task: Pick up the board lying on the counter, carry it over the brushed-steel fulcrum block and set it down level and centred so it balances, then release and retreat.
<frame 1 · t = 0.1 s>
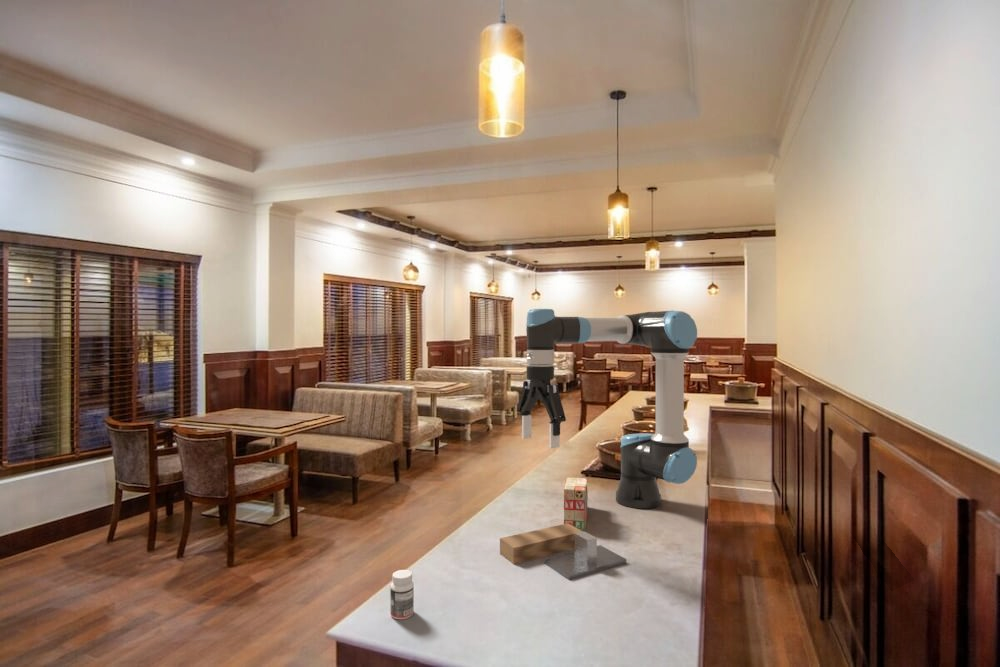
hand: (539, 443, 145), 28 cm above the counter, fingers open, 13 cm apart
stack of blocks: (576, 518, 165), on the counter
board: (542, 551, 141), on the counter
fulcrum: (585, 563, 133), on the counter
pill bottle: (402, 614, 109), on the counter
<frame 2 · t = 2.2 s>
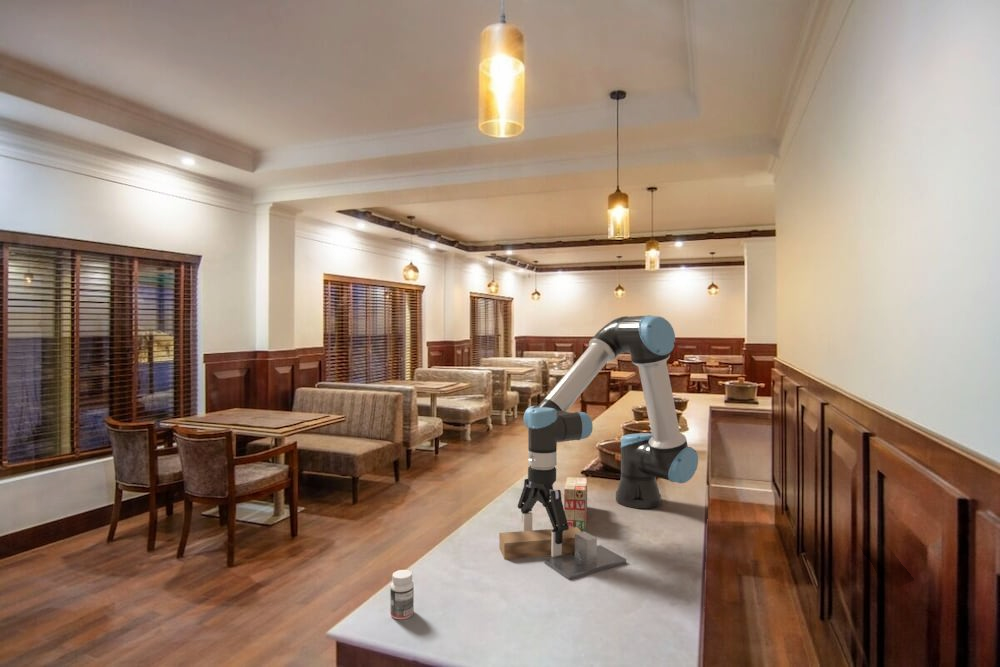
hand: (541, 546, 141), 1 cm above the counter, fingers open, 13 cm apart
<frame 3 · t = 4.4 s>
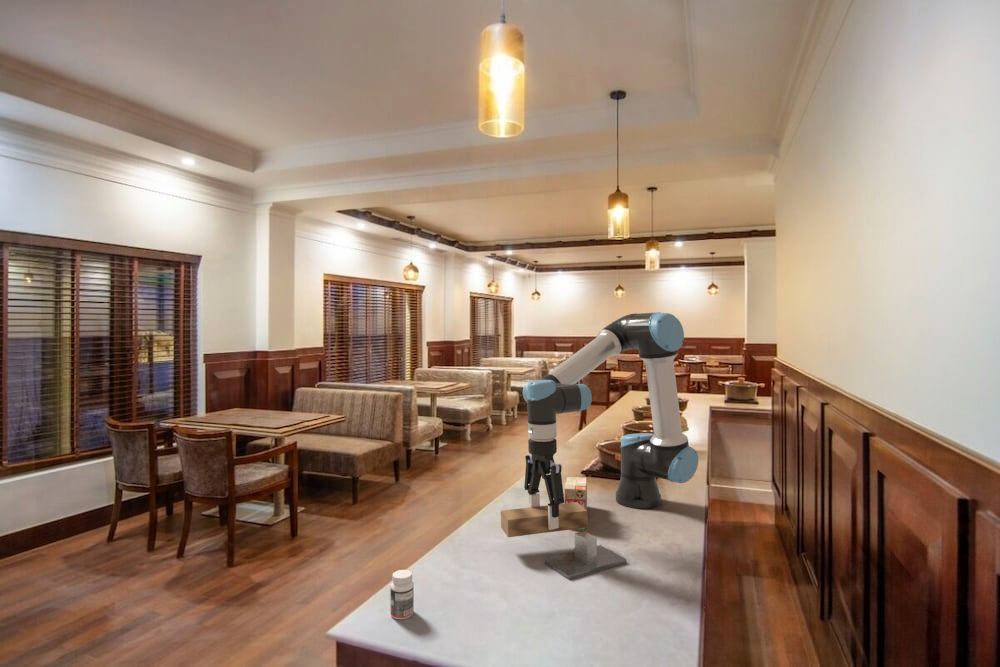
hand: (544, 523, 141), 7 cm above the counter, fingers closed on board, 8 cm apart
board: (544, 527, 141), point 6 cm above the counter, touching gripper
everything else where it was.
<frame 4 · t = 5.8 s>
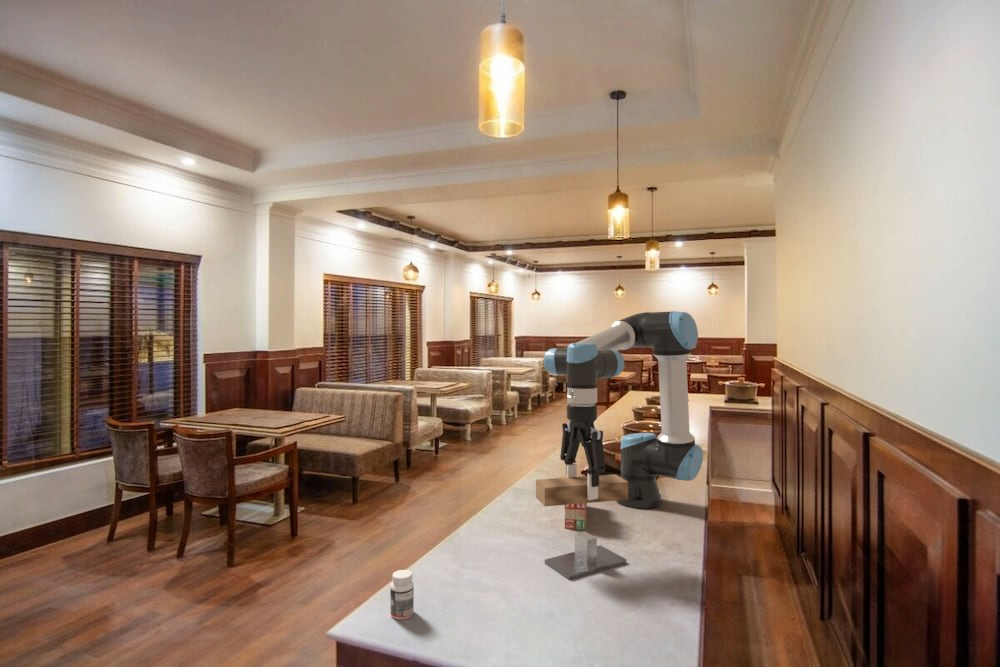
hand: (581, 494, 133), 17 cm above the counter, fingers closed on board, 8 cm apart
board: (581, 498, 133), point 16 cm above the counter, touching gripper
everything else where it was.
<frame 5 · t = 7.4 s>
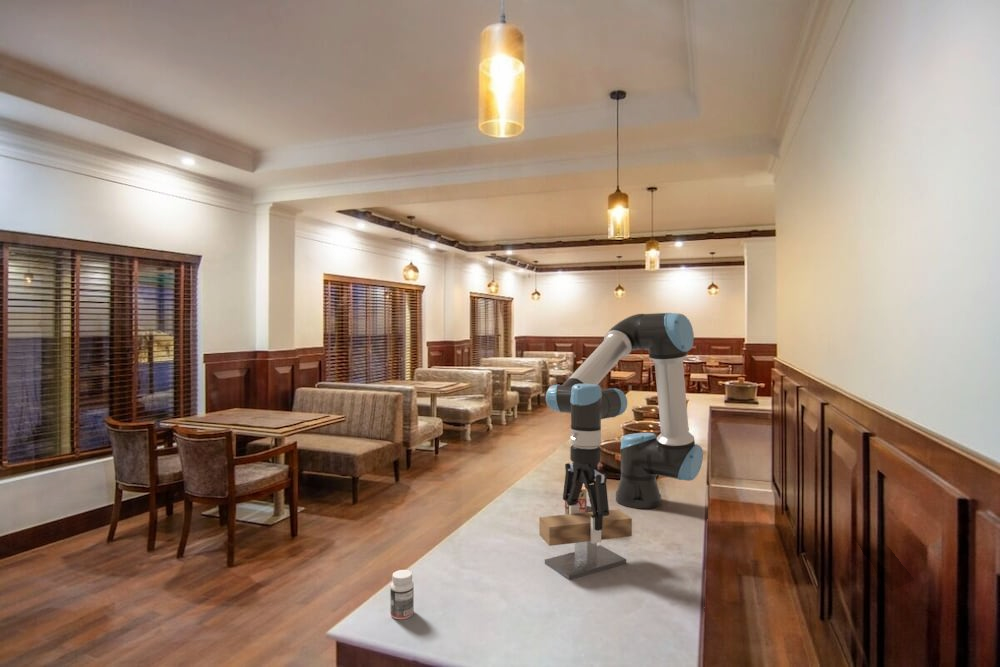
hand: (584, 536, 133), 7 cm above the counter, fingers closed on board, 8 cm apart
board: (585, 535, 133), point 7 cm above the counter, touching fulcrum, gripper
when the fingers open (6 cm above the counter, at t = 8.5 s): board stays where it is, resting on fulcrum.
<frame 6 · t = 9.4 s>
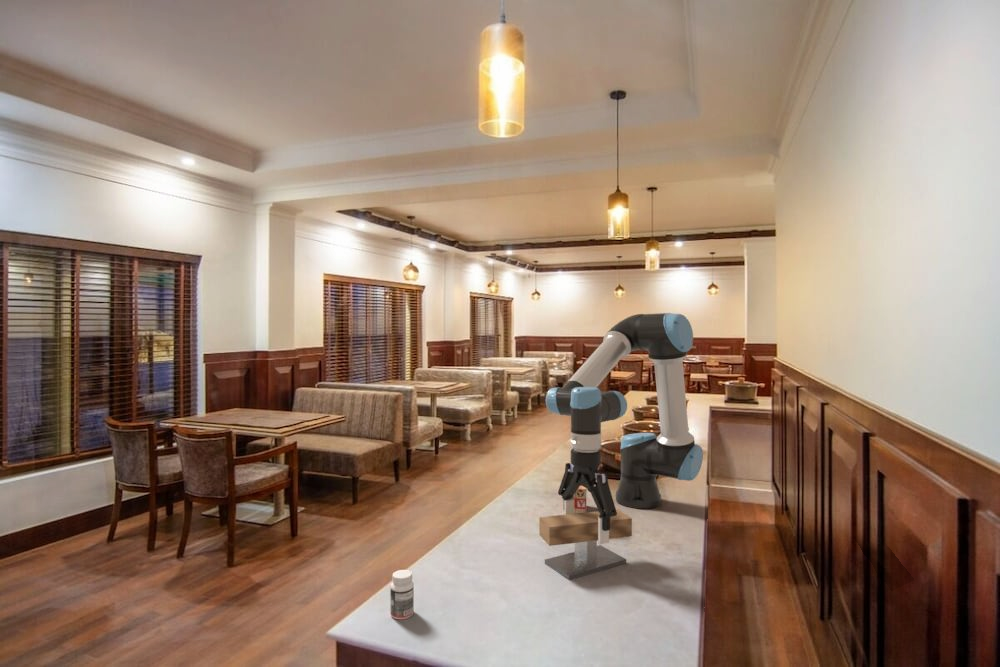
hand: (585, 533, 133), 8 cm above the counter, fingers open, 13 cm apart
board: (585, 535, 133), point 7 cm above the counter, touching fulcrum
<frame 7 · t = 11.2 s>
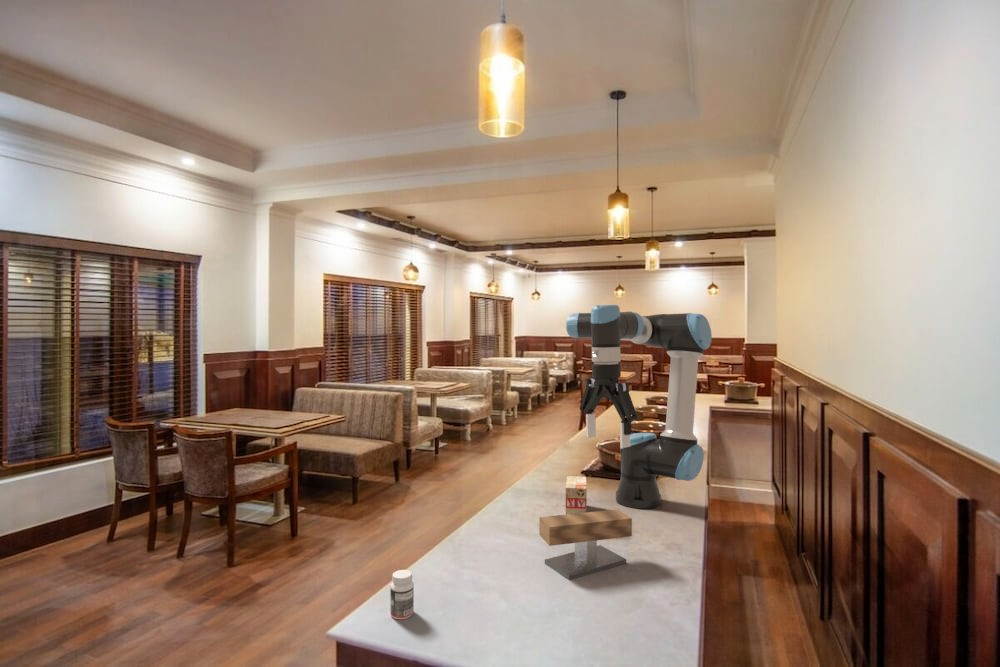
hand: (607, 442, 141), 29 cm above the counter, fingers open, 13 cm apart
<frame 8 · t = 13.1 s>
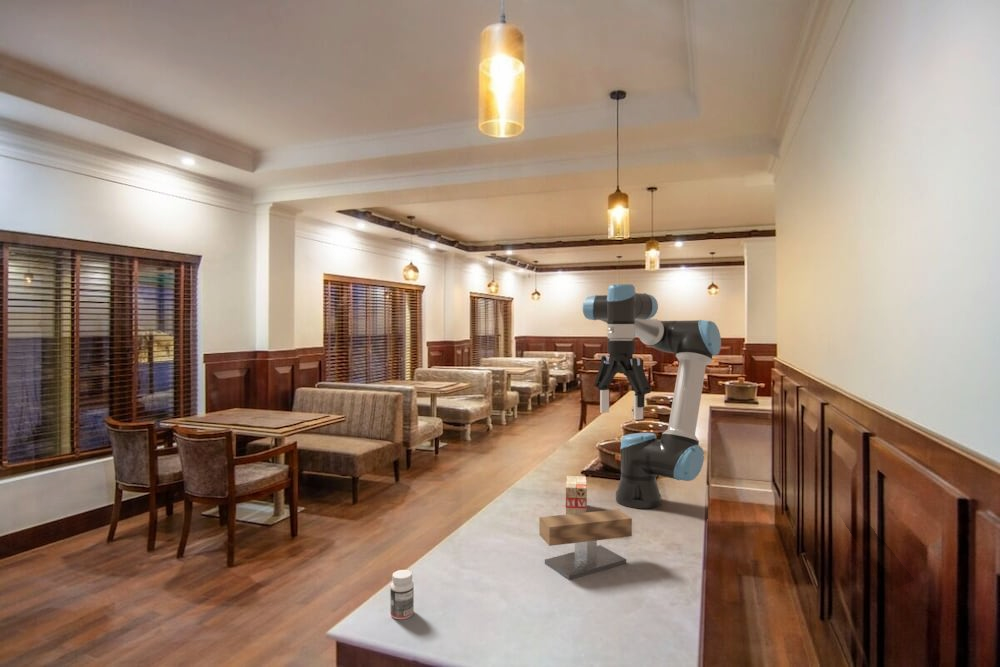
hand: (620, 415, 148), 35 cm above the counter, fingers open, 13 cm apart
at the end: board 0.1 cm off-centre on the fulcrum, point 7.0 cm above the fulcrum's base; board tilted 0°; the gripper is holding nothing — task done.
